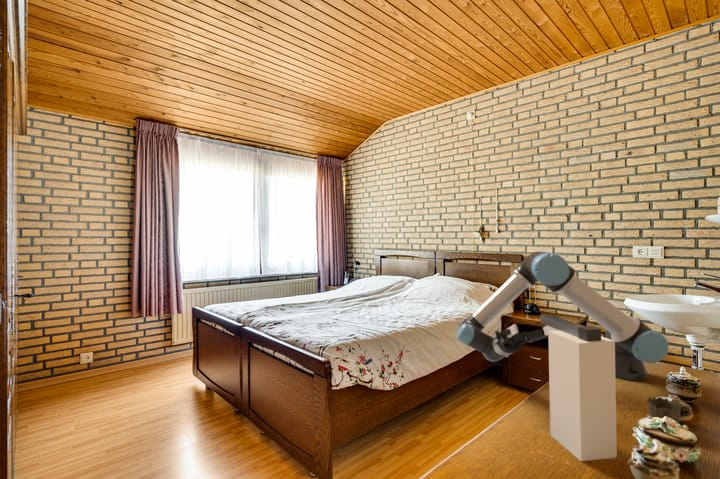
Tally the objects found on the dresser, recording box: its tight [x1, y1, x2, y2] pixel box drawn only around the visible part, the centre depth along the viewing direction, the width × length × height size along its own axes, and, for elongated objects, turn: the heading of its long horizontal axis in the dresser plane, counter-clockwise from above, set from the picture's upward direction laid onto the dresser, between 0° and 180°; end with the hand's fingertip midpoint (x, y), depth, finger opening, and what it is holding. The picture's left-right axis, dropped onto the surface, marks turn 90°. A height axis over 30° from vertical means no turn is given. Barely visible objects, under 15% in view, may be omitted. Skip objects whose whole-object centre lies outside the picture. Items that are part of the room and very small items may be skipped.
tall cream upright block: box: [547, 330, 618, 462], centre depth 98 cm, size 10×12×30 cm
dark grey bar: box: [539, 313, 602, 341], centre depth 102 cm, size 4×20×3 cm, turn 7°
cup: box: [647, 396, 682, 424], centre depth 104 cm, size 8×7×8 cm
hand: (536, 327), depth 116 cm, fingers open, 13 cm apart
